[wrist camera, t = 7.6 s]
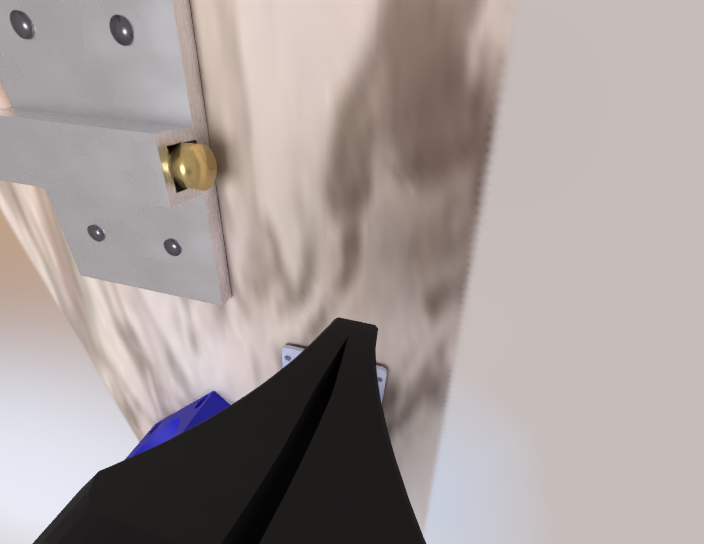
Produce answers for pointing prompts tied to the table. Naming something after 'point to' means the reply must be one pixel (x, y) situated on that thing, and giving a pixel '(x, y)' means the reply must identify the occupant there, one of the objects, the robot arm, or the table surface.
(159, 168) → the steel hinge
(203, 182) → the brass headed pin
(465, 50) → the table surface
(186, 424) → the blue u-shaped cradle block
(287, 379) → the robot arm
